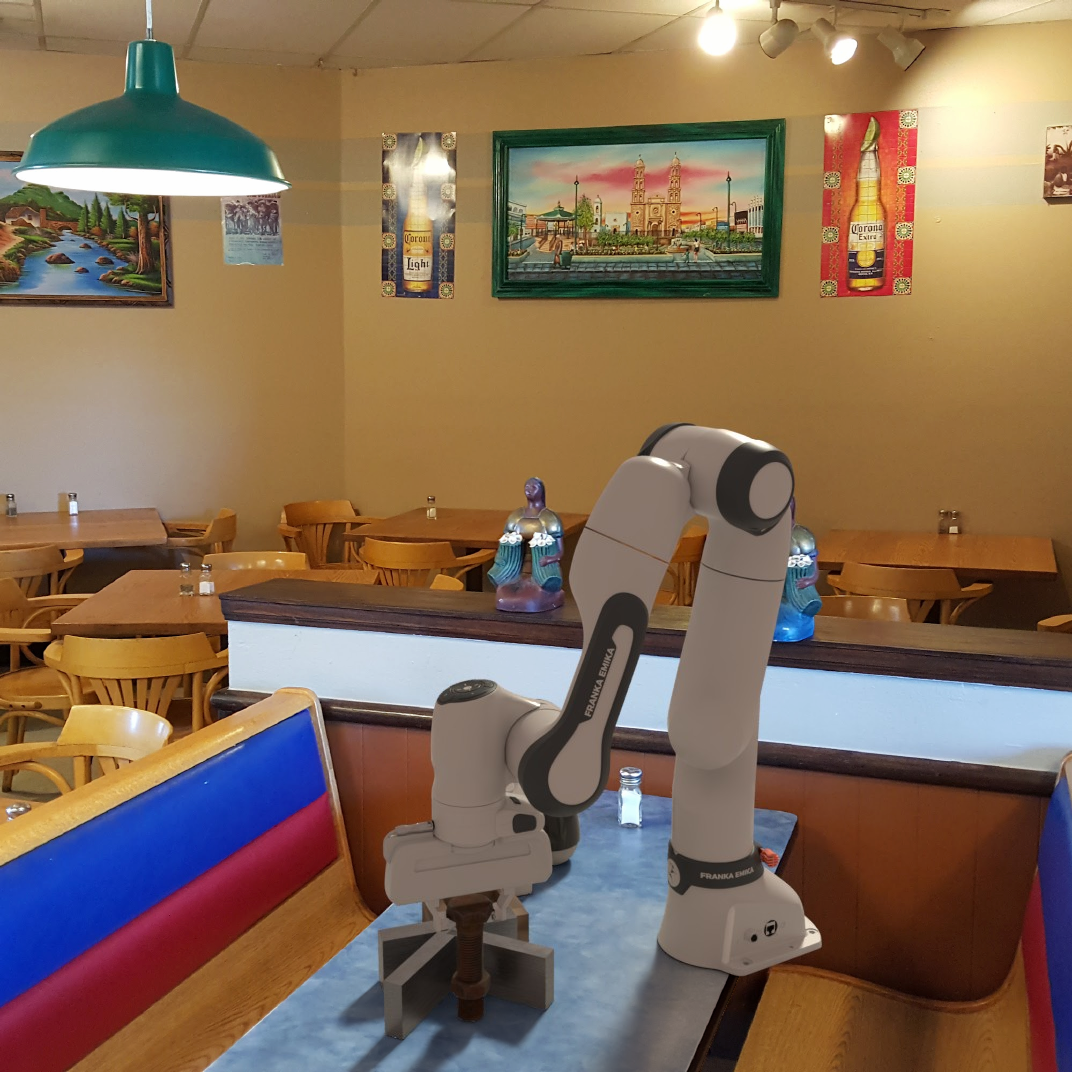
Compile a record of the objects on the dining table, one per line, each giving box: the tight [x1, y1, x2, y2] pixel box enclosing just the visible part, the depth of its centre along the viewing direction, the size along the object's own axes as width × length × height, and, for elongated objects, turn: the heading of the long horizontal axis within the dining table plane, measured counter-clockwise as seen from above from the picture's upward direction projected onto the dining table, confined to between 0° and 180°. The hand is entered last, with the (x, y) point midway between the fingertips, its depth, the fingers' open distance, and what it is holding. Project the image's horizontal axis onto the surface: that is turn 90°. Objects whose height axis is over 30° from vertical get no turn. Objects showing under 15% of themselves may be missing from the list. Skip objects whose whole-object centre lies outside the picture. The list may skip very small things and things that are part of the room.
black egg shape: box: [543, 813, 581, 866], centre depth 181 cm, size 10×10×15 cm
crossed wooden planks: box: [377, 907, 555, 1040], centre depth 143 cm, size 22×14×7 cm, turn 110°
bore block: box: [421, 889, 530, 943], centre depth 158 cm, size 12×12×5 cm
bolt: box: [446, 894, 493, 1023], centre depth 137 cm, size 6×5×15 cm
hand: (469, 924), depth 137 cm, fingers closed on bolt, 6 cm apart
